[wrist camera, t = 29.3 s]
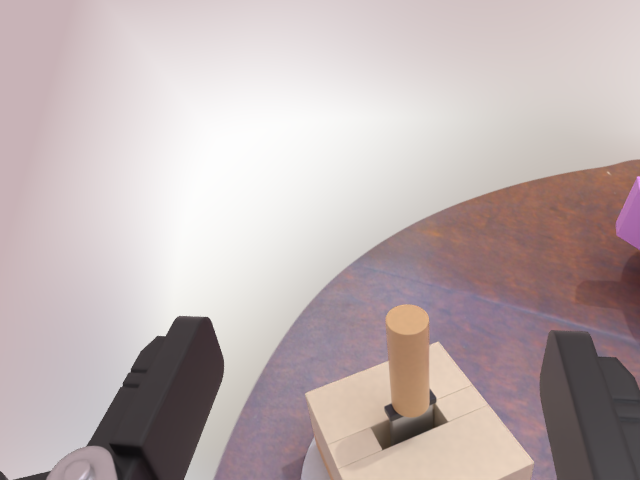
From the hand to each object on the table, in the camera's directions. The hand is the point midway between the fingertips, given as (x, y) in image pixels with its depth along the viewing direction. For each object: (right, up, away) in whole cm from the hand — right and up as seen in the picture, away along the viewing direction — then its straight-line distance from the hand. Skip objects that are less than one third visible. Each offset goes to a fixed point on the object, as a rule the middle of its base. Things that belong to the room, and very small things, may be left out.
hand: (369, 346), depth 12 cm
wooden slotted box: (+6, -17, +29) cm, 35 cm away
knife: (+6, -15, +28) cm, 32 cm away
